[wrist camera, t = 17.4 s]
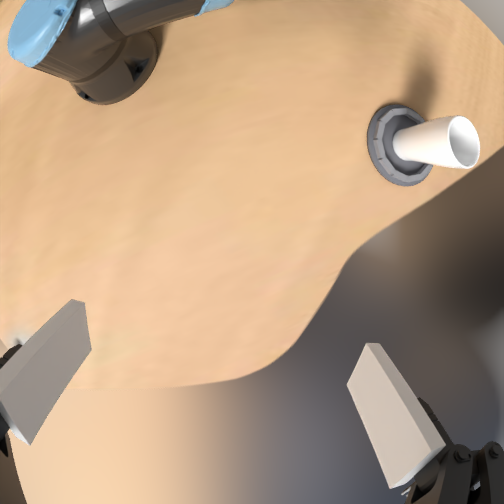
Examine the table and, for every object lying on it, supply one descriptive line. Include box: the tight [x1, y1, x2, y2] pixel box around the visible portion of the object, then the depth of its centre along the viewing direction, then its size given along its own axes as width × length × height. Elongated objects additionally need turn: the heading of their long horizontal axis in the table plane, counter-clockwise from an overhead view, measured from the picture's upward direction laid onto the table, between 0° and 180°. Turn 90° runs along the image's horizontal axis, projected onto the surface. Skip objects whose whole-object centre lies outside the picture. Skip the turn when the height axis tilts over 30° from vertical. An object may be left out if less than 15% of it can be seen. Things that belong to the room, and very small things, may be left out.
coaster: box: [367, 105, 433, 186], centre depth 36 cm, size 14×14×2 cm
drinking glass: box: [393, 115, 480, 168], centre depth 29 cm, size 7×7×15 cm
